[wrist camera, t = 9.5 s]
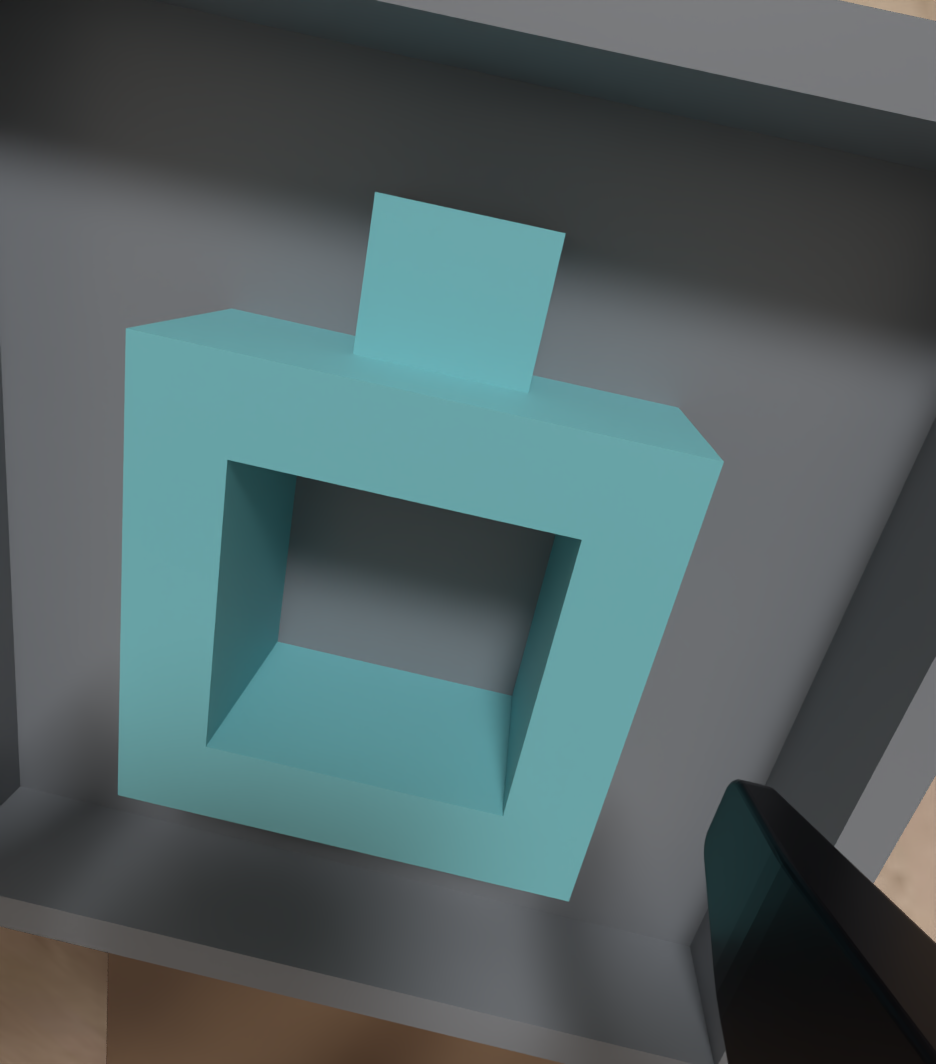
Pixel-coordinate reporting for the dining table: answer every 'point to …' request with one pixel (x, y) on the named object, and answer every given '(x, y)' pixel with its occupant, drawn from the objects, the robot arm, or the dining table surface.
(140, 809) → the tray
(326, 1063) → the peg base
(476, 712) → the collar
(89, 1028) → the dining table surface
